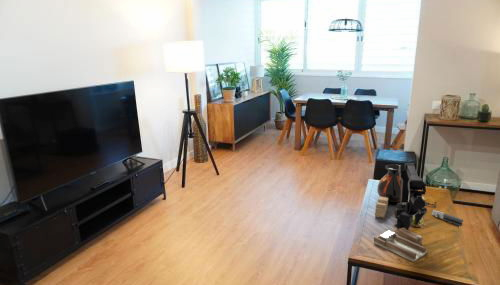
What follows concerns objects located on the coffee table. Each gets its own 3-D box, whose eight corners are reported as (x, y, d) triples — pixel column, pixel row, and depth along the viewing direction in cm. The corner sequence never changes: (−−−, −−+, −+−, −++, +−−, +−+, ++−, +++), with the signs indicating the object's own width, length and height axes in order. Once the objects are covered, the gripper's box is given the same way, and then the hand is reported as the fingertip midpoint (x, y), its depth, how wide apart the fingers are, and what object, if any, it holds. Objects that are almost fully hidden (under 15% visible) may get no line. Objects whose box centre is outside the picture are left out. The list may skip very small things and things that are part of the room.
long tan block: (402, 234, 209) (403, 226, 208) (423, 245, 197) (424, 236, 196) (397, 236, 207) (398, 228, 206) (417, 247, 195) (418, 238, 194)
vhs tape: (435, 210, 241) (435, 207, 240) (422, 207, 245) (422, 205, 244) (436, 202, 253) (436, 200, 252) (424, 200, 257) (424, 198, 256)
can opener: (429, 216, 231) (430, 209, 229) (434, 214, 234) (435, 207, 233) (459, 227, 215) (460, 220, 214) (464, 225, 219) (465, 217, 217)
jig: (387, 235, 208) (388, 230, 207) (427, 252, 189) (427, 247, 188) (373, 242, 200) (374, 237, 199) (413, 261, 181) (413, 256, 180)
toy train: (374, 218, 229) (375, 205, 227) (378, 209, 243) (379, 195, 241) (383, 220, 226) (384, 206, 224) (387, 210, 241) (388, 197, 238)
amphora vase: (378, 195, 266) (380, 161, 259) (408, 200, 257) (412, 164, 250) (374, 206, 247) (377, 169, 240) (407, 211, 238) (411, 173, 231)
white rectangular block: (388, 236, 205) (388, 230, 204) (394, 239, 202) (394, 232, 201) (379, 241, 200) (380, 235, 199) (385, 244, 197) (386, 238, 196)
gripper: (409, 192, 200) (407, 217, 204) (391, 200, 189) (388, 226, 193) (428, 198, 191) (426, 224, 195) (410, 207, 181) (407, 234, 184)
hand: (411, 227), depth 192 cm, fingers open, 9 cm apart
